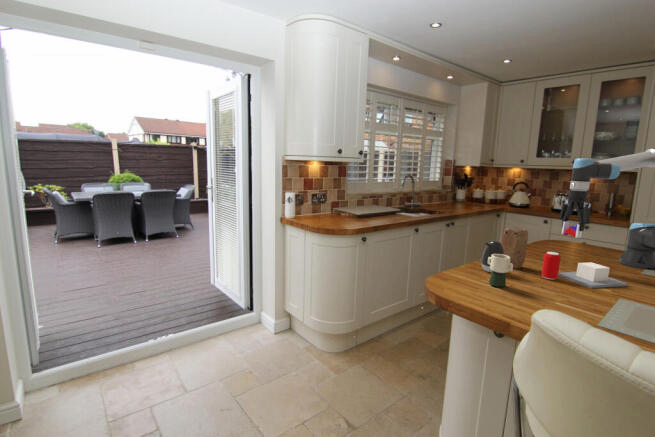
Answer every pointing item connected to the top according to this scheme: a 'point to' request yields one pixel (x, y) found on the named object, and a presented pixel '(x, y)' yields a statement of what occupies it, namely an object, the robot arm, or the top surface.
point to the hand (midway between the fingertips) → (571, 235)
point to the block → (515, 245)
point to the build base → (590, 283)
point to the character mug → (499, 269)
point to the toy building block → (571, 231)
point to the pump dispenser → (490, 253)
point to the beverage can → (551, 265)
